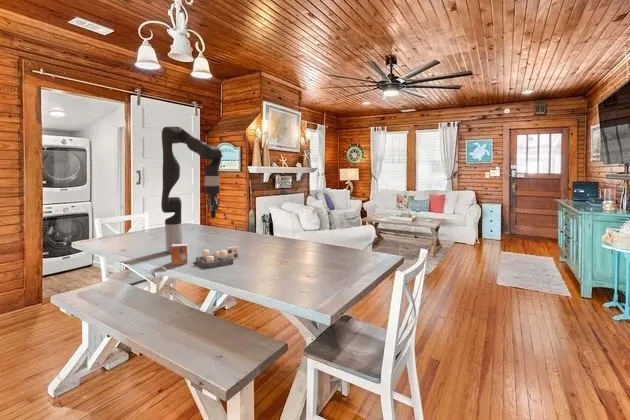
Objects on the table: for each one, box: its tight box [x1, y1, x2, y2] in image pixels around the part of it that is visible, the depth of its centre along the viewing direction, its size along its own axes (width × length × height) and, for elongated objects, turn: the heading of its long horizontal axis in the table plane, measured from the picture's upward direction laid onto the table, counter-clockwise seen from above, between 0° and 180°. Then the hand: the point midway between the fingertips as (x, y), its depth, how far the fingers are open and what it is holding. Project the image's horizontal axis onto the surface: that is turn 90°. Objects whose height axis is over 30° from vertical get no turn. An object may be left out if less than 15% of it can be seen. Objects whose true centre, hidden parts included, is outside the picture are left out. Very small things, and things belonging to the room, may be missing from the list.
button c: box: [201, 249, 210, 259], centre depth 183 cm, size 4×4×4 cm
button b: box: [219, 249, 227, 260], centre depth 181 cm, size 4×4×4 cm
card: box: [225, 246, 240, 260], centre depth 192 cm, size 3×7×7 cm, turn 127°
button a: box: [206, 256, 214, 263], centre depth 177 cm, size 4×4×4 cm
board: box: [195, 254, 234, 269], centre depth 182 cm, size 15×15×3 cm
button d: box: [214, 250, 220, 258], centre depth 187 cm, size 4×4×4 cm
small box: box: [170, 243, 189, 266], centre depth 181 cm, size 8×6×10 cm
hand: (213, 217), depth 179 cm, fingers closed
